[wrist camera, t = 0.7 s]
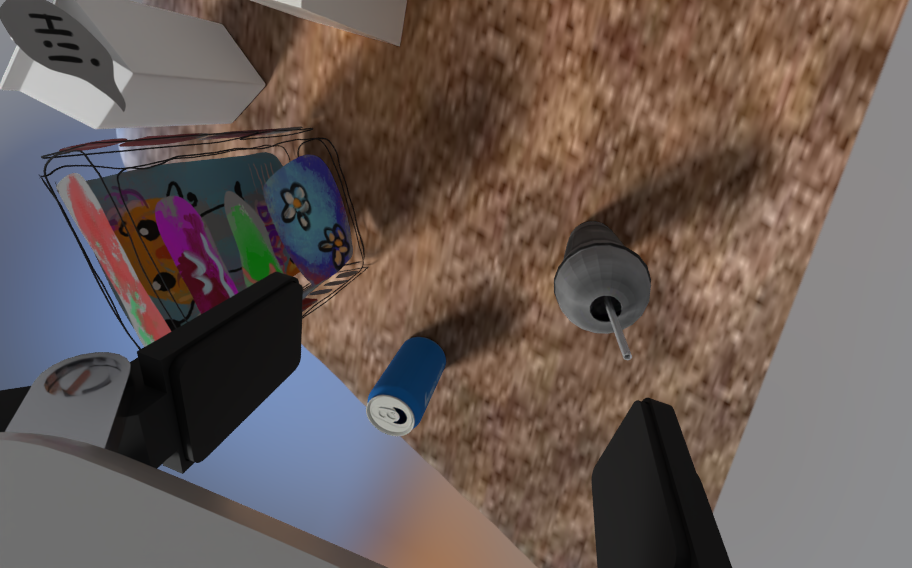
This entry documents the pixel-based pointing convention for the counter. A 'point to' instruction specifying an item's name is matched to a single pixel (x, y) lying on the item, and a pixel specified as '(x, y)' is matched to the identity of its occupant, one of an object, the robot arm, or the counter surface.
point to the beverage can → (406, 387)
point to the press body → (350, 15)
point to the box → (186, 202)
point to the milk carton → (146, 69)
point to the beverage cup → (601, 282)
